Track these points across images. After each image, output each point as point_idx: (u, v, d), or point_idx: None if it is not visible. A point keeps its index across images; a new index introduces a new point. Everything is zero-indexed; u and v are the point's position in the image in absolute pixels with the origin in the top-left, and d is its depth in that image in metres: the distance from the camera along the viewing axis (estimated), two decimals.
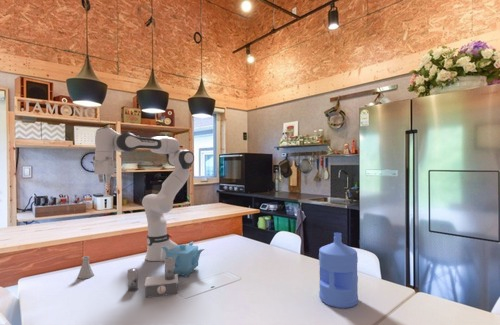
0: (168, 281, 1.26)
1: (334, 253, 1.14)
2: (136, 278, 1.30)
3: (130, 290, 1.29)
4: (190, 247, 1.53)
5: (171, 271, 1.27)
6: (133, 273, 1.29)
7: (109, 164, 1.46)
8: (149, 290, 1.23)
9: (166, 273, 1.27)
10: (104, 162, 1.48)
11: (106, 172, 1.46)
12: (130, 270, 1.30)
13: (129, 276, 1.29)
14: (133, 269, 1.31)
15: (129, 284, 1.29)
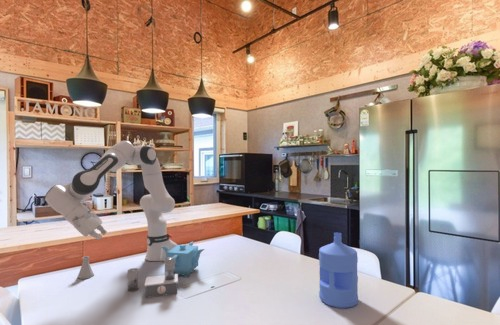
0: (168, 281, 1.26)
1: (334, 253, 1.14)
2: (136, 278, 1.30)
3: (130, 290, 1.29)
4: (190, 247, 1.53)
5: (171, 271, 1.27)
6: (133, 273, 1.29)
7: (77, 227, 1.16)
8: (149, 290, 1.23)
9: (166, 273, 1.27)
10: None
11: None
12: (130, 270, 1.30)
13: (129, 276, 1.29)
14: (133, 269, 1.31)
15: (129, 284, 1.29)
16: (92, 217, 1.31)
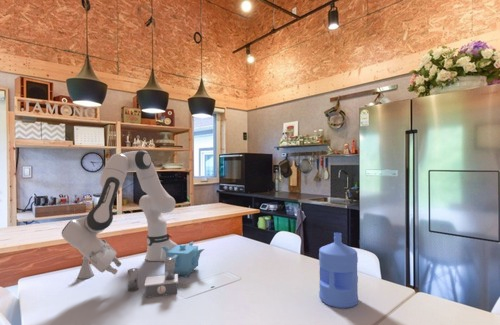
0: (168, 281, 1.26)
1: (334, 253, 1.14)
2: (136, 278, 1.30)
3: (130, 290, 1.29)
4: (190, 247, 1.53)
5: (171, 271, 1.27)
6: (133, 273, 1.29)
7: (94, 263, 1.18)
8: (149, 290, 1.23)
9: (166, 273, 1.27)
10: None
11: None
12: (130, 270, 1.30)
13: (129, 276, 1.29)
14: (133, 269, 1.31)
15: (129, 284, 1.29)
16: (107, 249, 1.33)
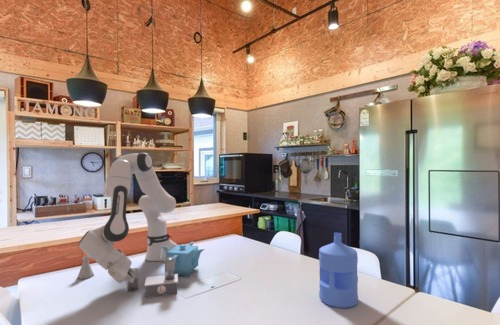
0: (168, 281, 1.26)
1: (334, 253, 1.14)
2: (136, 278, 1.30)
3: (130, 290, 1.29)
4: (190, 247, 1.53)
5: (171, 271, 1.27)
6: (133, 273, 1.29)
7: (111, 274, 1.20)
8: (149, 290, 1.23)
9: (166, 273, 1.27)
10: None
11: None
12: (130, 270, 1.30)
13: None
14: (133, 269, 1.31)
15: (129, 284, 1.29)
16: (123, 259, 1.34)
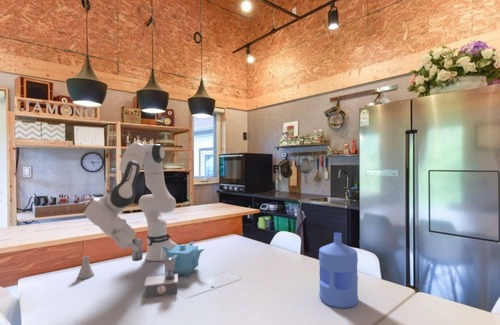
0: (168, 281, 1.26)
1: (334, 253, 1.14)
2: (140, 248, 1.29)
3: (134, 259, 1.28)
4: (190, 247, 1.53)
5: (171, 271, 1.27)
6: (138, 243, 1.28)
7: (116, 240, 1.19)
8: (149, 290, 1.23)
9: (166, 273, 1.27)
10: None
11: None
12: (134, 240, 1.29)
13: None
14: (137, 239, 1.30)
15: (134, 254, 1.28)
16: (127, 229, 1.33)
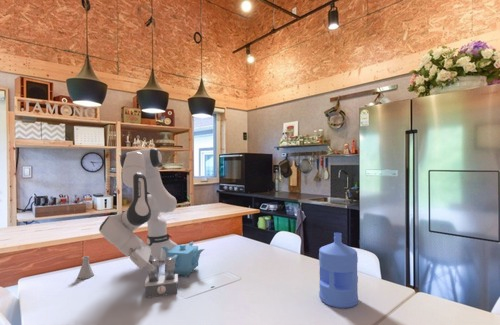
0: (168, 281, 1.26)
1: (334, 253, 1.14)
2: (157, 268, 1.27)
3: (151, 280, 1.25)
4: (190, 247, 1.53)
5: (171, 271, 1.27)
6: (154, 263, 1.26)
7: (134, 260, 1.16)
8: (149, 290, 1.23)
9: (166, 273, 1.27)
10: None
11: None
12: (151, 260, 1.27)
13: None
14: (154, 259, 1.28)
15: (150, 275, 1.25)
16: (143, 246, 1.31)
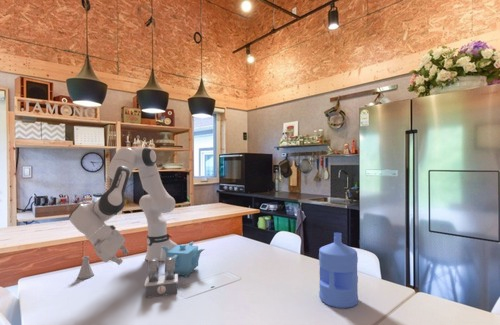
0: (168, 281, 1.26)
1: (334, 253, 1.14)
2: (157, 268, 1.27)
3: (151, 280, 1.25)
4: (190, 247, 1.53)
5: (171, 271, 1.27)
6: (154, 263, 1.25)
7: (98, 253, 1.13)
8: (149, 290, 1.23)
9: (166, 273, 1.27)
10: None
11: None
12: (151, 260, 1.27)
13: (150, 266, 1.25)
14: (153, 259, 1.28)
15: (150, 275, 1.25)
16: (115, 236, 1.28)
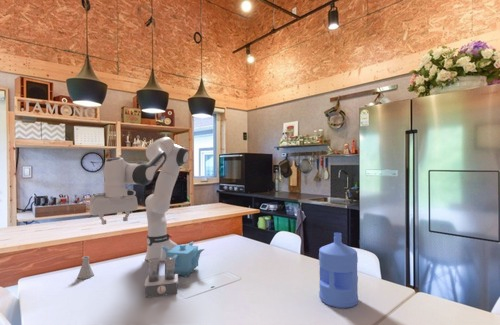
0: (168, 281, 1.26)
1: (334, 253, 1.14)
2: (157, 268, 1.27)
3: (151, 280, 1.25)
4: (190, 247, 1.53)
5: (171, 271, 1.27)
6: (155, 263, 1.26)
7: (91, 203, 1.24)
8: (149, 290, 1.23)
9: (166, 273, 1.27)
10: None
11: None
12: (151, 260, 1.27)
13: (151, 266, 1.25)
14: (154, 259, 1.28)
15: (151, 274, 1.25)
16: (127, 201, 1.33)
